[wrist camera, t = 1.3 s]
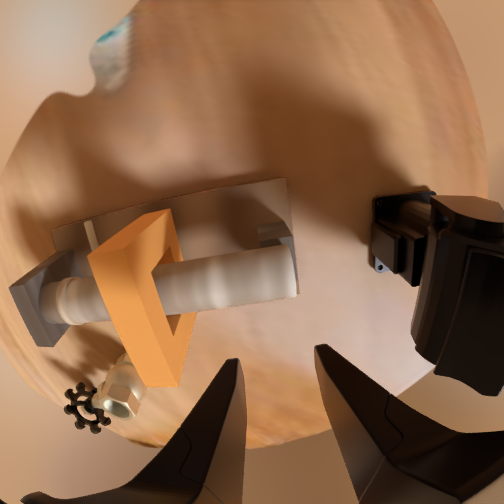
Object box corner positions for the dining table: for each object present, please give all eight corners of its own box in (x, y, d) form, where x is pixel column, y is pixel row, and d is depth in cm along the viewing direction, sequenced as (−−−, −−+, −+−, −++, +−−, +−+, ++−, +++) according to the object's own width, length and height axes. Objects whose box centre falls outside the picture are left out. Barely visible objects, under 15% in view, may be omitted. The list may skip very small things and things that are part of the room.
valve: (122, 334, 24) (75, 374, 27) (97, 379, 18) (54, 411, 20) (170, 374, 26) (114, 405, 28) (157, 423, 20) (100, 444, 22)
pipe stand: (283, 177, 19) (308, 193, 12) (297, 287, 23) (320, 350, 15) (56, 227, 20) (-2, 261, 13) (88, 314, 23) (49, 366, 16)
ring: (170, 208, 18) (123, 248, 11) (197, 310, 21) (178, 386, 13) (144, 214, 18) (86, 255, 11) (173, 313, 21) (145, 387, 13)
